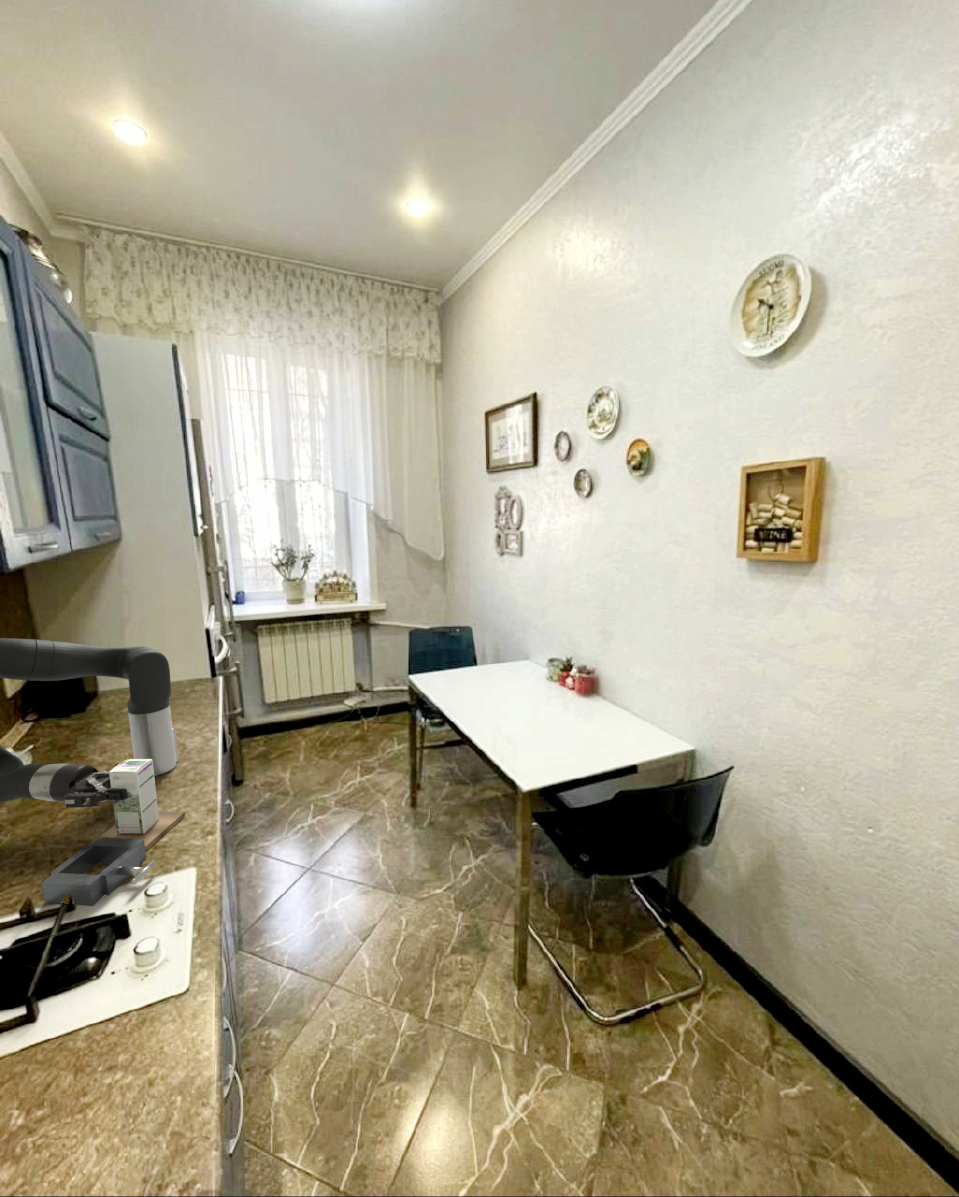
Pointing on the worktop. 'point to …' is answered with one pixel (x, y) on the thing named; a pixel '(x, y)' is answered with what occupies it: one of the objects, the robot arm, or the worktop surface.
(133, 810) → the syrup box
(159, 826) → the walnut board
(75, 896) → the vise
